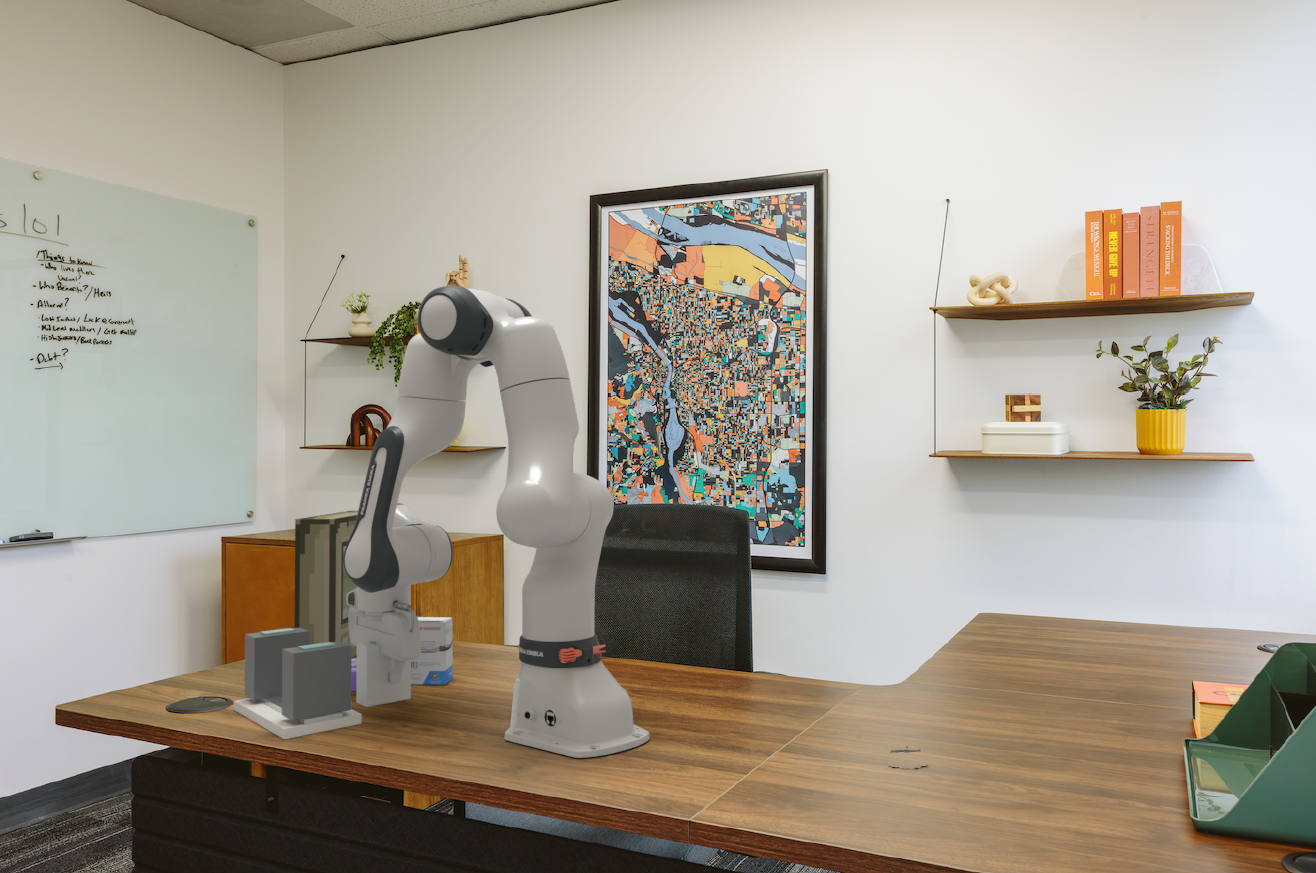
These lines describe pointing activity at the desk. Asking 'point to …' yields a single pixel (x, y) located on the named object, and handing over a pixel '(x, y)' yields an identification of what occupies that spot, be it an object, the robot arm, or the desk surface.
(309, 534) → the control panel
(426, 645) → the ink box
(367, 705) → the block
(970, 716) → the desk surface
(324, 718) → the rail
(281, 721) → the mounting board
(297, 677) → the mounted modules
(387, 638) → the robot arm
